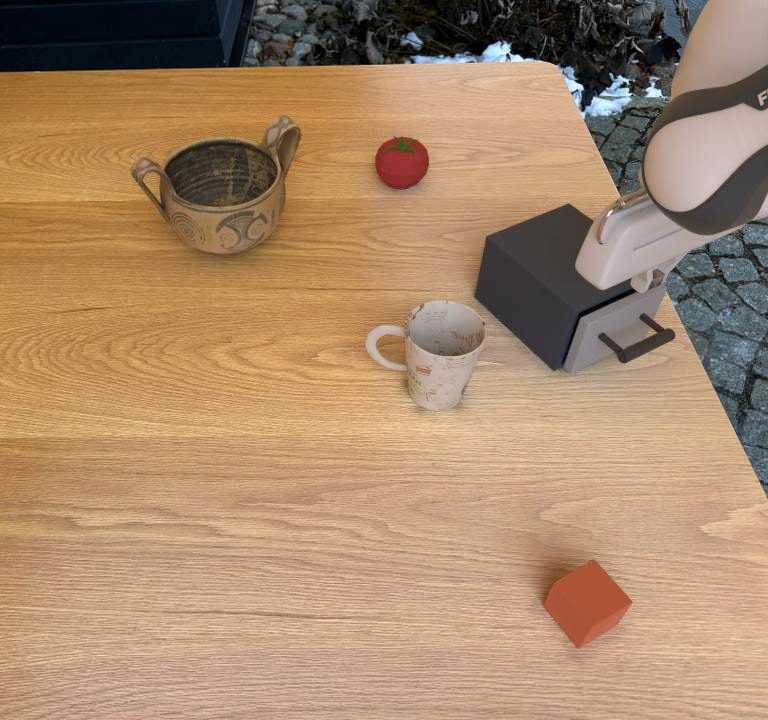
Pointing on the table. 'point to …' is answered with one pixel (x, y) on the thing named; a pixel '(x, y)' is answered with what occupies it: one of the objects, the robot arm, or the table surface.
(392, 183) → the tomato
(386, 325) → the mug
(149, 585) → the table surface
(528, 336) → the cabinet
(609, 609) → the block
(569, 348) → the drawer
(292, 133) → the ceramic bowl
